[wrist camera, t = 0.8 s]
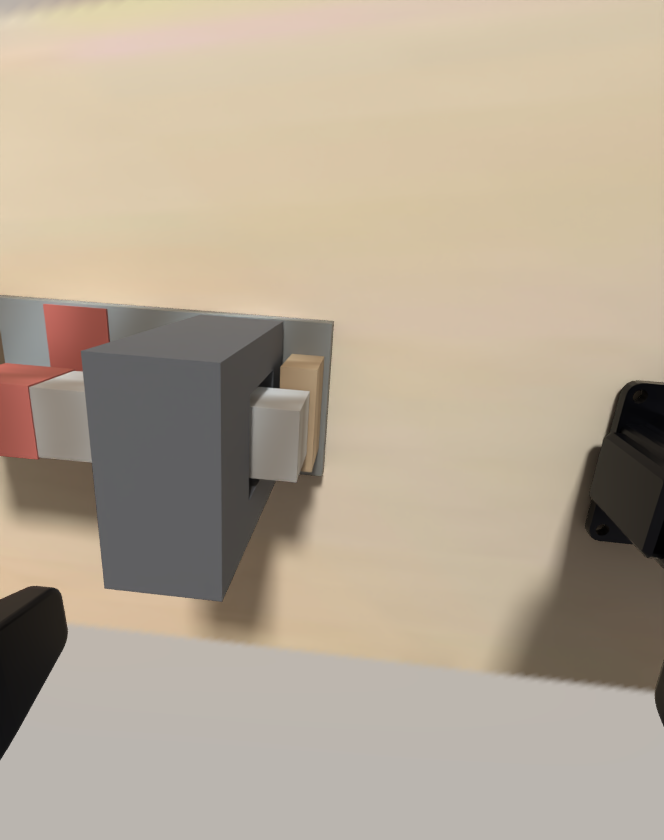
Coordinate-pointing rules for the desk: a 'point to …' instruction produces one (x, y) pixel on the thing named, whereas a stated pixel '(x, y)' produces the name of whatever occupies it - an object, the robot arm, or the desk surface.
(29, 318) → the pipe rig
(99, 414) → the collar
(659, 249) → the desk surface
